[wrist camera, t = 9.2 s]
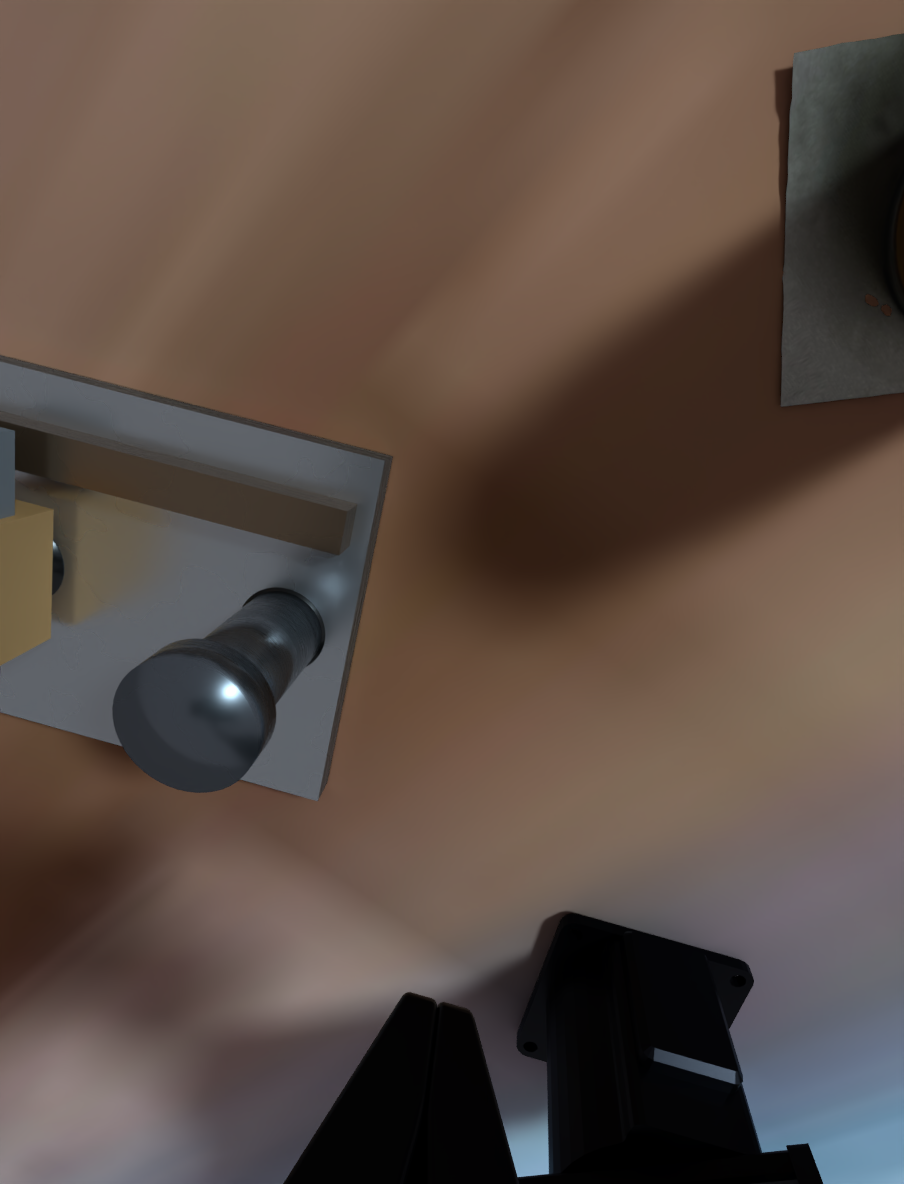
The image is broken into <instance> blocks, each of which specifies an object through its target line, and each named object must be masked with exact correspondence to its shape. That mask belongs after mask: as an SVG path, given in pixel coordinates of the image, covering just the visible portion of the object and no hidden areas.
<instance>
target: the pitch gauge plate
mask: <svg viewBox="0 0 904 1184" xmlns="http://www.w3.org/2000/svg"><path fill="white" fill-rule="evenodd" d="M0 427H2V428H6V429H10V430H14V431H15V499H16V500H20V501H24V502H28V503H32V504H35V505H39V506H43V507H47V508H50V509H54V516H53V562H52V608H51V638H50V639H49V640H47V641H45V642H43V643H41V644H39V645H37V646H36V647H34V648H32V649H30V650H28V651H26V652H25V653H23V654H21V655H19V656H17V657H15V658H14V659H12V660H10V661H8V662H6V663H4V664H2V665H1V666H0V712H1V713H5V714H9V715H12V716H16V717H19V718H23V719H26V720H30V721H34V722H37V723H41V724H44V725H48V726H51V727H55V728H59V729H62V730H66V731H69V732H73V733H76V734H80V735H84V736H87V737H91V738H94V739H98V740H101V741H105V742H109V743H112V744H116V745H119V746H123V748H124V750H125V751H126V753H127V754H128V756H129V757H130V758H131V759H132V760H133V762H134V763H135V764H136V765H137V766H138V767H139V768H141V769H142V770H143V771H144V772H145V773H147V774H148V775H149V776H151V777H152V778H154V779H155V780H157V781H159V782H161V783H163V784H165V785H167V786H169V787H172V788H175V789H178V790H183V791H187V792H196V793H201V792H213V791H217V790H221V789H224V788H226V787H229V786H231V785H232V784H234V783H236V782H237V781H238V780H240V779H241V780H244V781H248V782H251V783H255V784H258V785H262V786H266V787H269V788H273V789H276V790H280V791H283V792H287V793H291V794H294V795H298V796H301V797H305V798H308V799H312V800H316V801H318V800H319V798H320V796H321V794H322V792H323V790H324V788H325V786H326V784H327V781H328V776H329V771H330V766H331V761H332V756H333V751H334V747H335V742H336V737H337V732H338V727H339V722H340V717H341V712H342V707H343V702H344V697H345V692H346V687H347V682H348V677H349V672H350V667H351V662H352V657H353V652H354V647H355V642H356V637H357V632H358V627H359V622H360V617H361V612H362V607H363V602H364V597H365V592H366V587H367V582H368V577H369V573H370V568H371V563H372V558H373V553H374V548H375V543H376V538H377V533H378V528H379V523H380V518H381V513H382V508H383V503H384V498H385V493H386V488H387V483H388V478H389V473H390V468H391V463H392V458H393V456H390V455H386V454H382V453H378V452H374V451H371V450H367V449H363V448H359V447H355V446H351V445H347V444H343V443H340V442H336V441H332V440H328V439H324V438H320V437H316V436H312V435H308V434H305V433H301V432H297V431H293V430H289V429H285V428H281V427H277V426H274V425H270V424H266V423H262V422H258V421H254V420H250V419H246V418H242V417H239V416H235V415H231V414H227V413H223V412H219V411H215V410H211V409H208V408H204V407H200V406H196V405H192V404H188V403H184V402H180V401H177V400H173V399H169V398H165V397H161V396H157V395H153V394H149V393H145V392H142V391H138V390H134V389H130V388H126V387H122V386H118V385H114V384H111V383H107V382H103V381H99V380H95V379H91V378H87V377H83V376H80V375H76V374H72V373H68V372H64V371H60V370H56V369H52V368H48V367H45V366H41V365H37V364H33V363H29V362H25V361H21V360H17V359H14V358H10V357H6V356H2V355H0Z"/></svg>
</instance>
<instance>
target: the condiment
mask: <svg viewBox="0 0 904 1184" xmlns="http://www.w3.org/2000/svg"><path fill="white" fill-rule="evenodd" d="M783 271H784V273H783V277H782V279H783V293H784V303H783V305H784V311H783V331H782V350H781V352H782V384H781V407H783V406H792V405H801V404H810V403H819V402H827V401H835V400H843V399H852V398H862V397H871V396H878V395H883V394H892V393H903V392H904V34H897V35H891V36H887V37H882V38H877V39H869V40H862V41H856V42H847V43H841V44H837V45H833V46H829V47H824V48H819V49H814V50H808V51H803V52H798V53H794V61H793V78H792V102H791V107H790V130H789V150H788V183H787V191H786V222H785V259H784V268H783ZM866 294H870V295H872V296H874V297H875V298H876V299H877V300H878V303H879V305H878V306H876V307H873V306H871V305H869V304H867V303H866V302H865V295H866ZM886 304H887V305H889V306H890V308H891V309H892V313H891V316H885V315H884V313H883V312H882V311H881V306H882V305H886Z"/></svg>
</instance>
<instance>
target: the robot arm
mask: <svg viewBox="0 0 904 1184" xmlns="http://www.w3.org/2000/svg"><path fill="white" fill-rule="evenodd" d="M572 929H578V931H571V930H572ZM736 975H739V976H736ZM753 983H754V979H753V976H752V973H751V971H750V968H749V966H748V965H747V964H746V963H745V962H744V961H741V960H739V959H735V958H732V957H728V956H725V955H721V954H718V953H714V952H711V951H707V950H704V949H700V948H696V947H693V946H689V945H686V944H682V943H679V942H675V941H672V940H668V939H665V938H661V937H658V936H654V935H650V934H647V933H643V932H640V931H636V930H633V929H629V928H626V927H622V926H619V925H615V924H612V923H608V922H604V921H601V920H597V919H594V918H590V917H587V916H583V915H580V914H568V915H566V916H564V917H563V918H562V919H561V921H560V923H559V925H558V928H557V931H556V933H555V936H554V938H553V941H552V944H551V946H550V949H549V951H548V954H547V957H546V959H545V962H544V964H543V967H542V970H541V972H540V975H539V977H538V980H537V983H536V985H535V988H534V990H533V993H532V996H531V998H530V1001H529V1003H528V1006H527V1009H526V1011H525V1014H524V1016H523V1019H522V1022H521V1024H520V1027H519V1029H518V1032H517V1049H518V1051H519V1052H520V1053H521V1054H523V1055H525V1056H528V1057H531V1058H535V1059H538V1060H542V1061H545V1062H547V1090H548V1145H549V1174H546V1175H536V1176H526V1177H517V1174H516V1170H515V1167H514V1163H513V1159H512V1156H511V1152H510V1148H509V1144H508V1141H507V1137H506V1133H505V1130H504V1126H503V1122H502V1119H501V1115H500V1111H499V1108H498V1104H497V1100H496V1097H495V1093H494V1089H493V1086H492V1082H491V1078H490V1075H489V1071H488V1067H487V1063H486V1060H485V1056H484V1052H483V1049H482V1045H481V1041H480V1038H479V1034H478V1030H477V1027H476V1023H475V1020H474V1017H473V1015H472V1013H471V1012H470V1010H468V1009H466V1008H463V1007H459V1006H456V1005H452V1004H449V1003H446V1002H442V1003H440V1004H439V1005H438V1006H437V1004H436V1002H435V1000H433V999H432V998H428V997H425V996H421V995H418V994H415V993H411V992H408V993H405V994H404V995H403V996H402V997H401V999H400V1001H399V1002H398V1004H397V1005H396V1007H395V1008H394V1010H393V1012H392V1013H391V1015H390V1016H389V1018H388V1019H387V1021H386V1023H385V1024H384V1026H383V1027H382V1029H381V1030H380V1032H379V1034H378V1035H377V1037H376V1038H375V1040H374V1042H373V1043H372V1045H371V1046H370V1048H369V1049H368V1051H367V1053H366V1054H365V1056H364V1057H363V1059H362V1060H361V1062H360V1064H359V1065H358V1067H357V1068H356V1070H355V1071H354V1073H353V1075H352V1076H351V1078H350V1079H349V1081H348V1083H347V1084H346V1086H345V1087H344V1089H343V1090H342V1092H341V1094H340V1095H339V1097H338V1098H337V1100H336V1101H335V1103H334V1105H333V1106H332V1108H331V1109H330V1111H329V1113H328V1114H327V1116H326V1117H325V1119H324V1120H323V1122H322V1124H321V1125H320V1127H319V1128H318V1130H317V1131H316V1133H315V1135H314V1136H313V1138H312V1139H311V1141H310V1142H309V1144H308V1146H307V1147H306V1149H305V1150H304V1152H303V1154H302V1155H301V1157H300V1158H299V1160H298V1161H297V1163H296V1165H295V1166H294V1168H293V1169H292V1171H291V1172H290V1174H289V1176H288V1177H287V1179H286V1180H285V1182H284V1183H283V1184H823V1182H822V1179H821V1177H820V1174H819V1171H818V1168H817V1166H816V1163H815V1160H814V1158H813V1155H812V1152H811V1150H810V1147H809V1144H808V1143H807V1144H797V1145H787V1146H786V1147H787V1150H785V1151H775V1152H765V1153H762V1150H761V1147H760V1143H759V1140H758V1137H757V1133H756V1130H755V1126H754V1123H753V1120H752V1116H751V1113H750V1109H749V1106H748V1102H747V1099H746V1096H745V1092H744V1089H743V1085H742V1082H743V1075H742V1072H741V1068H740V1065H739V1062H738V1058H737V1055H736V1052H735V1048H734V1045H733V1041H732V1038H731V1035H730V1031H729V1028H730V1026H731V1025H732V1023H733V1021H734V1019H735V1017H736V1015H737V1014H738V1012H739V1010H740V1008H741V1006H742V1004H743V1003H744V1001H745V999H746V997H747V995H748V993H749V992H750V990H751V988H752V986H753Z"/></svg>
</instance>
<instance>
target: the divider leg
mask: <svg viewBox="0 0 904 1184" xmlns="http://www.w3.org/2000/svg"><path fill="white" fill-rule="evenodd" d="M53 516H54V509H50V508H47V507H43V506H39V505H35V504H32V503H28V502H24V501H20V500H16V499H15V431H14V430H10V429H6V428H2V427H0V666H1V665H2V664H4V663H6V662H8V661H10V660H12V659H14V658H15V657H17V656H19V655H21V654H23V653H25V652H26V651H28V650H30V649H32V648H34V647H36V646H37V645H39V644H41V643H43V642H45V641H47V640H49V639H50V638H51V608H52V562H53Z"/></svg>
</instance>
